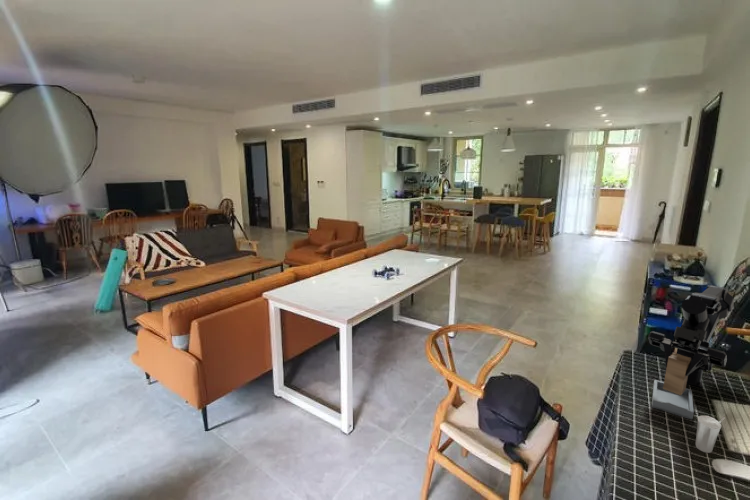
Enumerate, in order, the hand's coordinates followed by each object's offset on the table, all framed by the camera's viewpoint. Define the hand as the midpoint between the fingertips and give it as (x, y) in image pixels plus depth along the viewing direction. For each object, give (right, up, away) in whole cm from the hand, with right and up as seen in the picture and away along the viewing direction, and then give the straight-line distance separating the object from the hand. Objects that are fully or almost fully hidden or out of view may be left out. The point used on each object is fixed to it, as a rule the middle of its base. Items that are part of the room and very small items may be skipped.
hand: (676, 372), depth 112 cm
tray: (+2, -11, +4) cm, 11 cm away
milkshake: (-5, -15, -15) cm, 22 cm away
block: (+1, -6, +2) cm, 7 cm away
